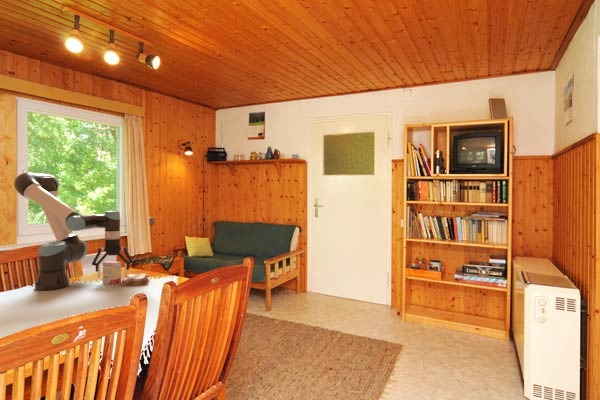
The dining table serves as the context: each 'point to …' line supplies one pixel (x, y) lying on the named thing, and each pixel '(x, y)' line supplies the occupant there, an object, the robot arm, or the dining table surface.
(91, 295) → the dining table surface
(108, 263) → the ink box
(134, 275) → the plinth
